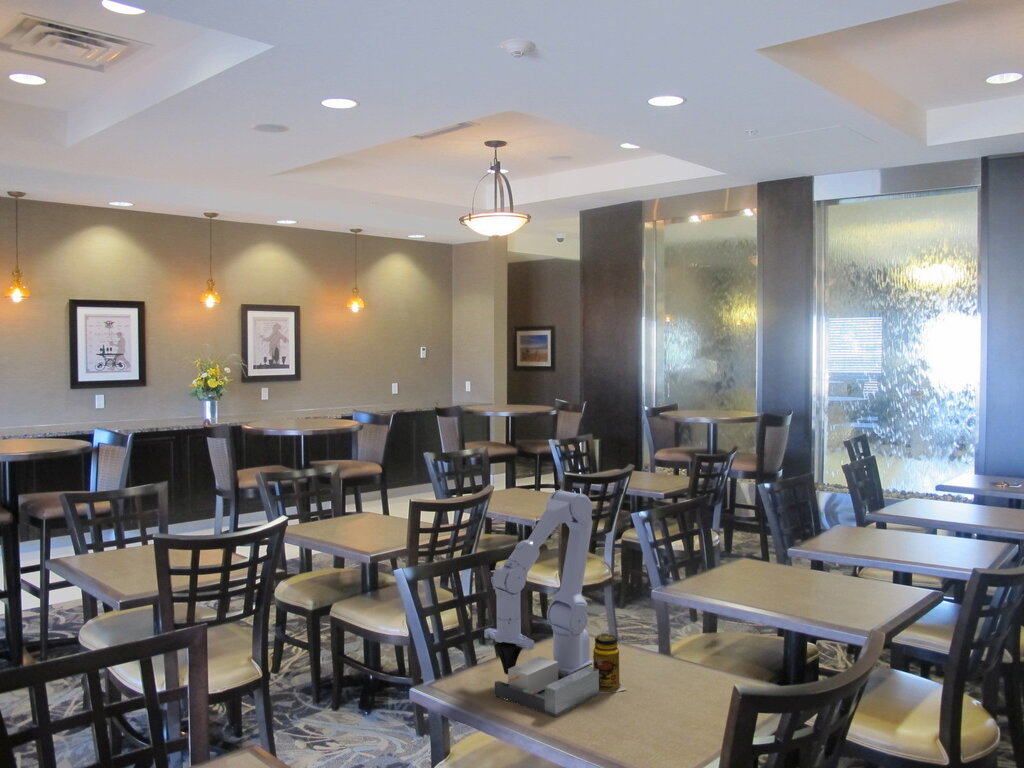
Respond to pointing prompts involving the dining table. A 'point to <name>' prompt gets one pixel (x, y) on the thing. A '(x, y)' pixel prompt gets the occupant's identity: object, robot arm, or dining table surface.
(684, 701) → the dining table surface
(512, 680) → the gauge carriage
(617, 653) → the condiment
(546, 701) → the gauge frame
